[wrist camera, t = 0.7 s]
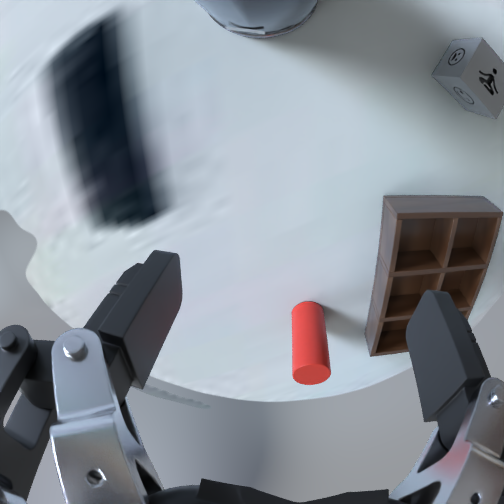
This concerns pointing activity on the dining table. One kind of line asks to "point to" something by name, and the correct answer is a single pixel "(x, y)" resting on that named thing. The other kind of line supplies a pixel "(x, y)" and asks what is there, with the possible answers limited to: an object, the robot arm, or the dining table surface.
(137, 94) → the dining table surface
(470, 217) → the grid
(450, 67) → the dice cube
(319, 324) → the red cylinder
